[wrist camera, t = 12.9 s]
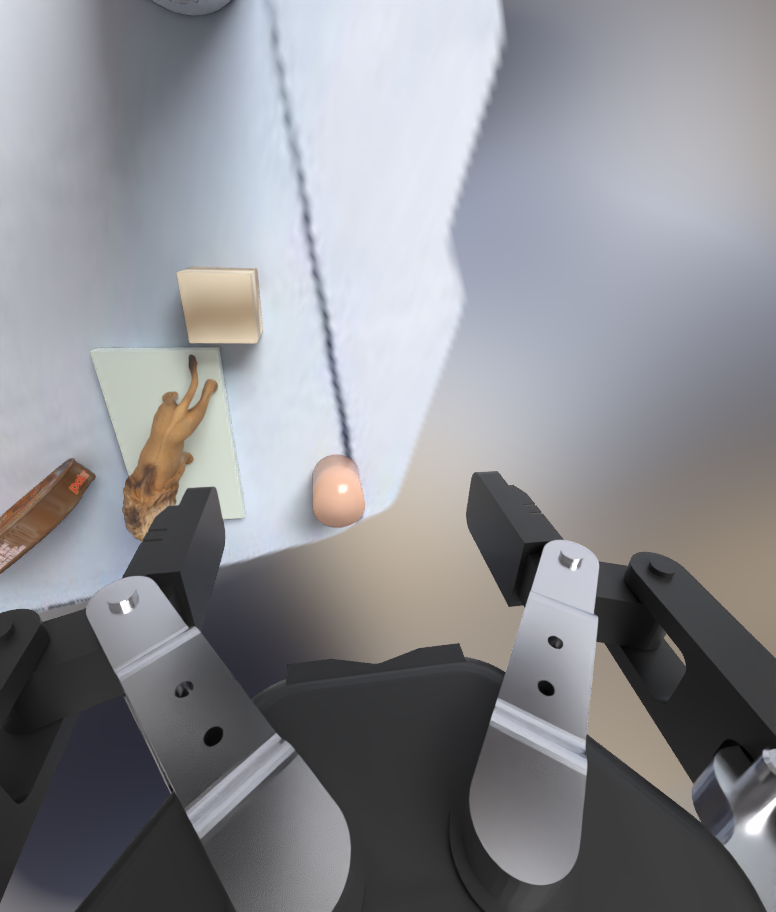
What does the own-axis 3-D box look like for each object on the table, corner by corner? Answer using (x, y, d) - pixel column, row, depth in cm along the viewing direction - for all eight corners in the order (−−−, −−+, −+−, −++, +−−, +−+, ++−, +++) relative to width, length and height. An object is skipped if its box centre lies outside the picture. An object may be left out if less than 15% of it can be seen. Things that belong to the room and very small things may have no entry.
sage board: (96, 348, 35) (89, 351, 34) (219, 347, 37) (216, 350, 36) (148, 517, 44) (144, 524, 43) (245, 511, 46) (244, 517, 44)
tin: (86, 443, 39) (34, 492, 32) (115, 465, 41) (72, 517, 33) (-16, 529, 42) (-85, 593, 34) (15, 547, 43) (-44, 611, 36)
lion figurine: (201, 496, 42) (176, 556, 35) (144, 486, 41) (104, 547, 33) (224, 360, 36) (200, 397, 29) (157, 343, 35) (113, 376, 27)
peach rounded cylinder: (311, 455, 44) (311, 486, 38) (358, 453, 44) (365, 483, 39) (314, 495, 46) (314, 529, 41) (359, 492, 47) (364, 525, 42)
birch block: (193, 266, 34) (176, 272, 29) (257, 268, 35) (249, 274, 30) (204, 329, 36) (189, 343, 32) (263, 329, 37) (256, 343, 33)
